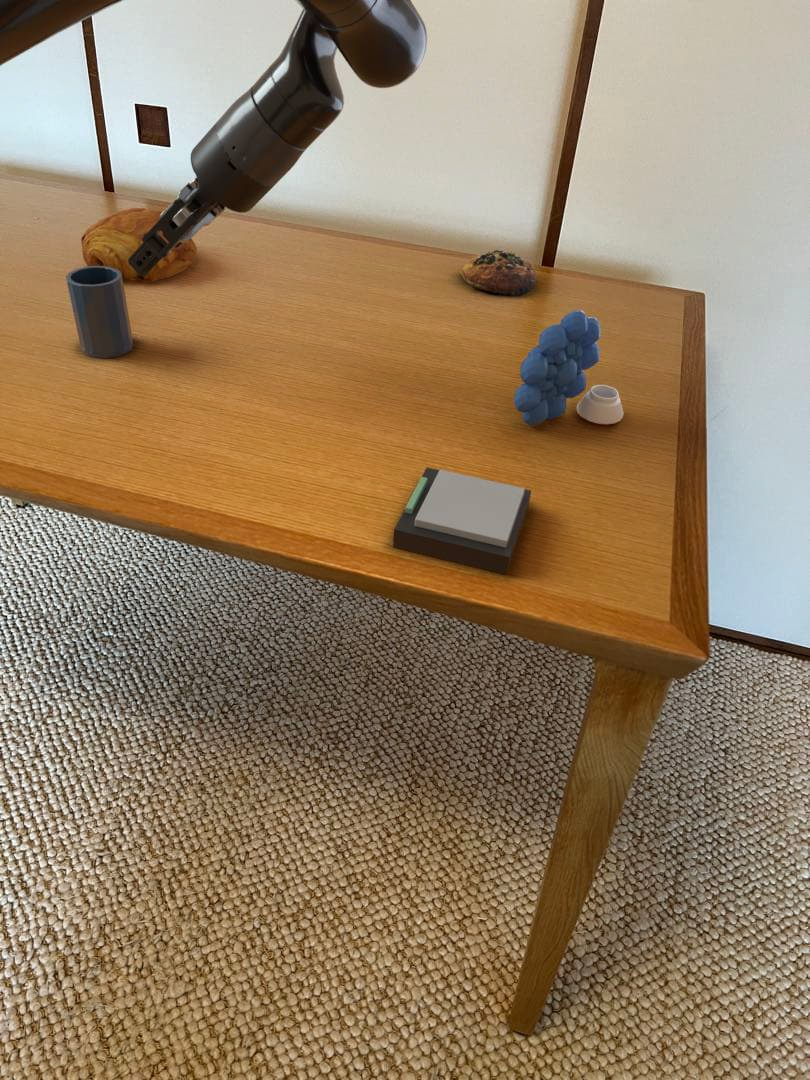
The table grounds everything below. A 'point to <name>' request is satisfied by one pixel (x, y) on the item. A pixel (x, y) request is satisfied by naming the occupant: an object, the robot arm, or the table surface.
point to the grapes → (557, 367)
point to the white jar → (601, 405)
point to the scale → (463, 520)
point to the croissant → (131, 245)
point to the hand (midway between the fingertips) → (153, 254)
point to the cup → (100, 311)
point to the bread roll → (500, 273)
